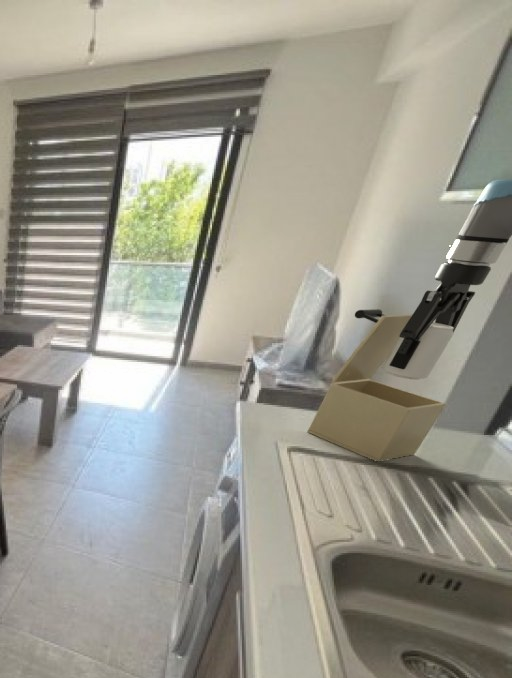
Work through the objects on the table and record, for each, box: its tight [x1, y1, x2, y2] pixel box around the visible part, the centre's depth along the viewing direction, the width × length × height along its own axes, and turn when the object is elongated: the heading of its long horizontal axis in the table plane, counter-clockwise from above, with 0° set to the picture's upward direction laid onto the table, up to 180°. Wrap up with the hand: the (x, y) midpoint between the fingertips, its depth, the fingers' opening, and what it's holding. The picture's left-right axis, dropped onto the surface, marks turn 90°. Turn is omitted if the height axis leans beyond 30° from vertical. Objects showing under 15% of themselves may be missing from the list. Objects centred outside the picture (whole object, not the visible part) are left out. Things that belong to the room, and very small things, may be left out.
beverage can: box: [381, 321, 454, 381], centre depth 110 cm, size 8×8×12 cm
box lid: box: [330, 308, 413, 383], centre depth 120 cm, size 18×15×8 cm
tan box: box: [307, 378, 448, 462], centre depth 120 cm, size 17×15×14 cm
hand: (408, 366), depth 112 cm, fingers closed on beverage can, 8 cm apart
